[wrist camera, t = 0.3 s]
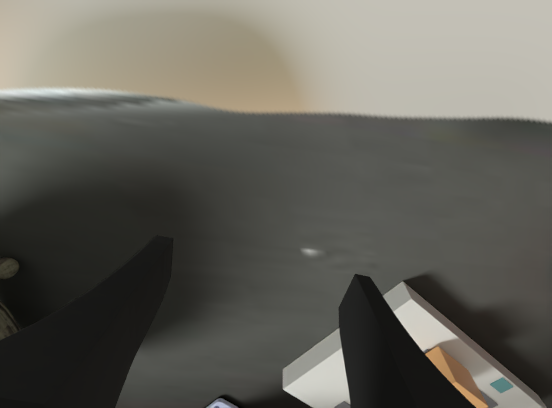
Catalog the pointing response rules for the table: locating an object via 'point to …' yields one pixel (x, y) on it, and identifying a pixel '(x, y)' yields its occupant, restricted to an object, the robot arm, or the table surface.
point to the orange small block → (457, 376)
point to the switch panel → (428, 335)
